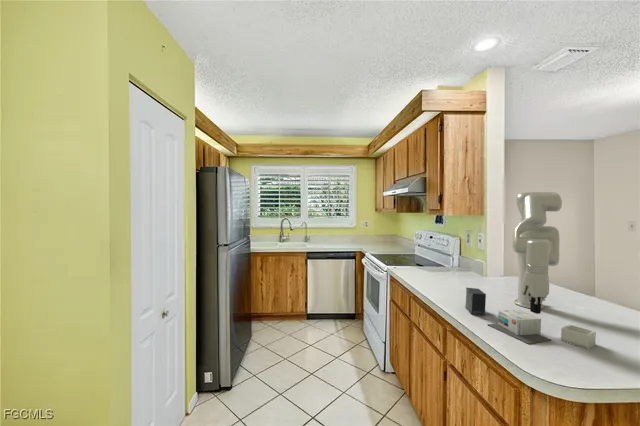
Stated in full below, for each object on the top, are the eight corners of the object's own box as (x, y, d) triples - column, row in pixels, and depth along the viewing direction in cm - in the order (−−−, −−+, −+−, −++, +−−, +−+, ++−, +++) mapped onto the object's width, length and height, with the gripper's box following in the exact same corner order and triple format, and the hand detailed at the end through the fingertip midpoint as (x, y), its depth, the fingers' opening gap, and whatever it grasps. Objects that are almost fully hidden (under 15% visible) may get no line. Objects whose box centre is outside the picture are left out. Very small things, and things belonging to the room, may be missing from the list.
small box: (486, 316, 137) (486, 294, 136) (471, 314, 138) (472, 293, 138) (478, 308, 147) (479, 288, 147) (464, 307, 148) (465, 287, 148)
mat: (508, 322, 129) (508, 321, 129) (551, 340, 112) (551, 339, 112) (487, 325, 126) (487, 324, 126) (528, 344, 109) (528, 343, 109)
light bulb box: (519, 323, 127) (497, 325, 125) (520, 308, 127) (497, 309, 125) (541, 334, 116) (517, 336, 115) (541, 318, 116) (517, 319, 115)
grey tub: (568, 336, 116) (569, 323, 116) (595, 344, 110) (595, 331, 110) (561, 340, 112) (561, 328, 112) (588, 349, 105) (588, 336, 105)
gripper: (540, 266, 127) (539, 307, 128) (515, 268, 123) (513, 311, 123) (559, 270, 120) (557, 314, 120) (532, 272, 116) (530, 317, 116)
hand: (535, 312), depth 122 cm, fingers closed
